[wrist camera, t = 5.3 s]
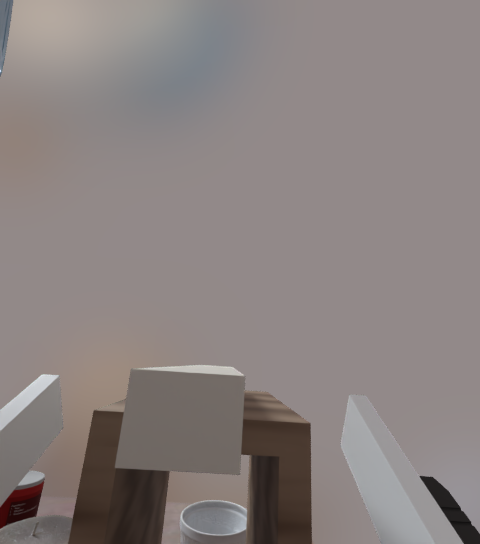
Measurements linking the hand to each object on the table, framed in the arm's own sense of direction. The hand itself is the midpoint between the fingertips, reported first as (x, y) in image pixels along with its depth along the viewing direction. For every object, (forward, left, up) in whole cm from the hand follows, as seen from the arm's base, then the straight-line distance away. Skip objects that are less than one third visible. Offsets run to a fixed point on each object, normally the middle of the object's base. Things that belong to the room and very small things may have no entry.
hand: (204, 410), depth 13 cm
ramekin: (-34, +36, -32) cm, 59 cm away
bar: (-8, +7, -1) cm, 10 cm away
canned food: (-60, +10, -31) cm, 69 cm away
